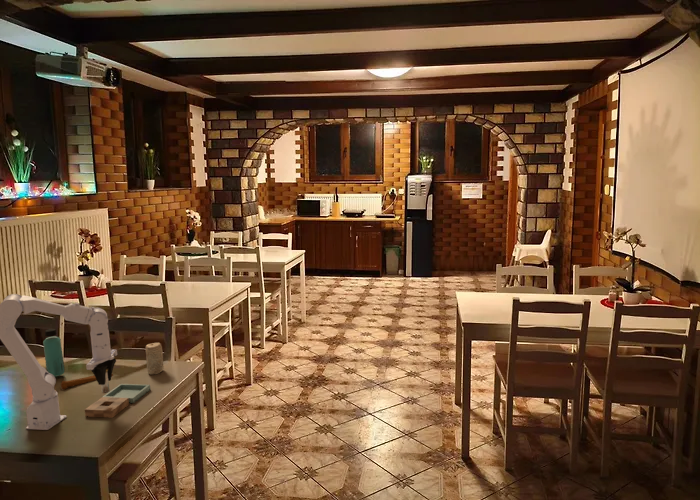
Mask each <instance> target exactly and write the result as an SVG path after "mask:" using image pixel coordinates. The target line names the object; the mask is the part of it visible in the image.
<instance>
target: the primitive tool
mask: <svg viewBox="0 0 700 500" xmlns="http://www.w3.org/2000/svg"><path fill="white" fill-rule="evenodd" d="M112 377H114V374H113V373H112ZM95 381H97V379H96V377H95V375H94V374H93V375H89V376H85V377H81V378H75V379H71V380H67V381H66V380H62V381H61V383H60V387H61V389H62V390H66V389H69V388H72V387H75V386H79V385H83V384H86V383H90V382H95Z"/></svg>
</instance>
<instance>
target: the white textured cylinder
mask: <svg viewBox="0 0 700 500" xmlns="http://www.w3.org/2000/svg"><path fill="white" fill-rule="evenodd" d="M163 351H164V350H163V346H162V343H160V342H152V343H148V344H146V345H145V355H146V357H145V358H146V369H147V373H148V374H149V375H150V376H151V375H152V376H153V375H158V374H160V373H161V372H162V371H163V370H164V357H163V355H164V354H163Z"/></svg>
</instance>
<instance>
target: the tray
mask: <svg viewBox="0 0 700 500" xmlns="http://www.w3.org/2000/svg"><path fill="white" fill-rule="evenodd" d="M150 391H151V385H150V384H139V383H138V384H137V383H134V384H133V383H120V384H118V385H117V386H115V387H114V388H113V389H110V392H108V393H104V395H103V396H102V397H115V398H129V404H132V403H133V404H135V403H136V402H137V401H139V400H140V399H141V398H142V397H143V396H145V395H146V394H147V393H149V392H150Z"/></svg>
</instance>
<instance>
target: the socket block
mask: <svg viewBox="0 0 700 500" xmlns="http://www.w3.org/2000/svg"><path fill="white" fill-rule="evenodd" d="M128 406H130V403H129V398H115V397H103V396H101V397H100V398H99V399H98V400H96V401H95V402H93V403H91V404H90V405H89V406H88V407H86V408H84V416H85V417H86V418H87V416H88V417H91V418H108V419H109V418H111V419H112V418H114V417H116V415H118V414H120V412H121V411H122V412H123V410H124V409H125V407H126V408H127V407H128Z"/></svg>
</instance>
